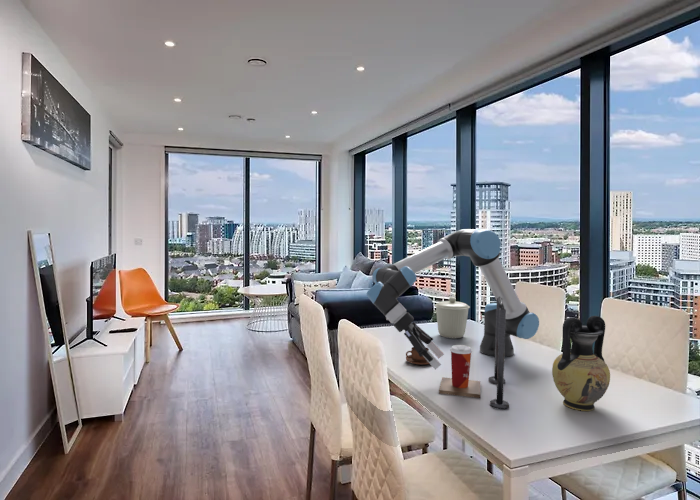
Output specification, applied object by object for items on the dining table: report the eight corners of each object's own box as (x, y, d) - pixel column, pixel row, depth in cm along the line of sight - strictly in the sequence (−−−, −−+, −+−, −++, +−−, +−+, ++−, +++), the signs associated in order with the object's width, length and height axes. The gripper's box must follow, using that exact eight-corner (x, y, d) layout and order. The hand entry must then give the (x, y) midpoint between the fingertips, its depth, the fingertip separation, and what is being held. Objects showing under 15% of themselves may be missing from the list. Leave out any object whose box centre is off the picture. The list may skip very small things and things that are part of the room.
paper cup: (471, 390, 159) (472, 350, 158) (449, 388, 160) (450, 349, 160) (470, 382, 167) (471, 345, 166) (449, 380, 168) (450, 343, 167)
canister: (432, 338, 235) (433, 298, 233) (436, 331, 252) (437, 293, 251) (468, 342, 229) (469, 300, 228) (469, 333, 247) (470, 295, 245)
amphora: (582, 420, 138) (586, 323, 136) (539, 400, 154) (542, 313, 152) (621, 411, 145) (625, 319, 143) (576, 393, 161) (579, 309, 159)
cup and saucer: (416, 368, 186) (416, 353, 186) (400, 360, 197) (400, 346, 197) (439, 364, 192) (440, 350, 191) (422, 357, 202) (423, 343, 202)
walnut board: (480, 384, 168) (480, 381, 168) (480, 398, 155) (480, 394, 155) (442, 380, 172) (442, 377, 172) (438, 393, 159) (438, 390, 159)
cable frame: (488, 378, 175) (491, 294, 173) (504, 379, 174) (507, 295, 172) (490, 408, 146) (493, 308, 145) (509, 410, 145) (513, 309, 143)
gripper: (398, 317, 181) (435, 358, 178) (386, 331, 157) (428, 378, 154) (412, 305, 179) (449, 346, 176) (401, 317, 155) (445, 365, 152)
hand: (440, 361), depth 165 cm, fingers open, 13 cm apart
